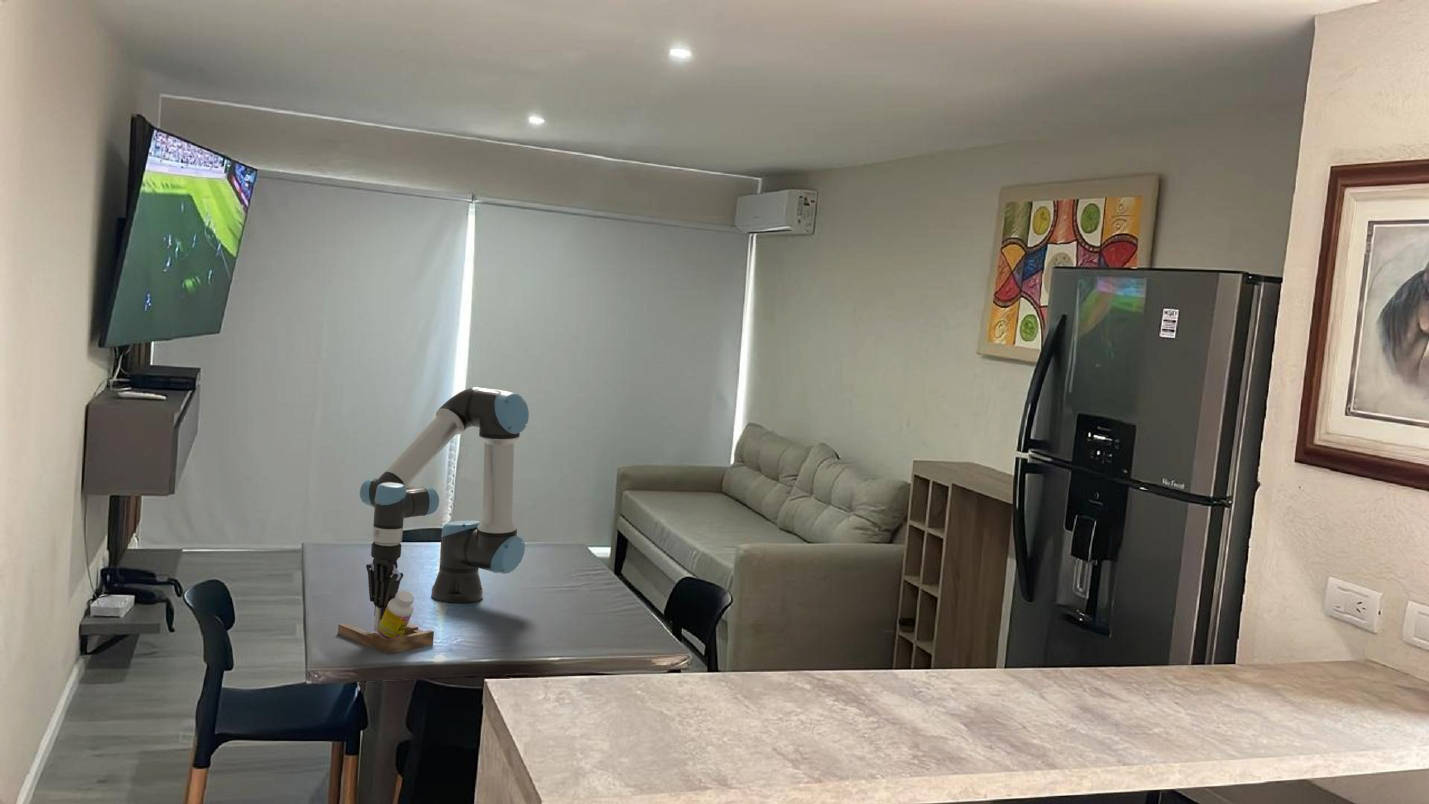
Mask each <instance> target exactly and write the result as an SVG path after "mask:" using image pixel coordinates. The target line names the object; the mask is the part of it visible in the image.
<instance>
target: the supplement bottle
mask: <svg viewBox="0 0 1429 804" xmlns="http://www.w3.org/2000/svg"><path fill="white" fill-rule="evenodd" d="M414 599H415V597H414V595H413V594H412V593H411V592H409V591H407V590H398V592H397V593H396V596H395V598H393V599H391V600H390V601H389V603H388V605H387V607H386V610H385V612H384V615H383V617H382V620H381V622H380V624H379V627H378V629H377V632H376V633H377V634H380V637H381V638H384V639H390V638H395V637H400V636H403V634H404V631H405V629H406V627H407V625H408V624H409V623H410V619H411V617H412V614H413V612H414V606H413V602H414Z"/></svg>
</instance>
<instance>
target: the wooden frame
mask: <svg viewBox="0 0 1429 804" xmlns="http://www.w3.org/2000/svg"><path fill="white" fill-rule="evenodd" d="M337 626H338V627H337V634H338V635H340V636H343V637H346V638H348V639H349V640H353V641H355V642H357V643H360V644H362V645H365V646H367V647H369V648H372V649H374V650H376V651H378V652H381V653H384V654H386V655H391V654H392V655H393V654H396V653H401V652H405V651H410V650H414V649H419V648H424V647H427V646H431V645H434V634H435V631H434V630H431V629H430V630H428V629H427V630H421V629H419V626H418V625H415V624H412V625H408V624H407V627H406V629H405V631H404V634H403V636H400V637H395V638H390V639H384V638H381V637H380V634H378V633H377V632H373V633H370V632H368V631H366V630H363V629H362V628H359V627H355V626H353V625H351V624H348V623H346V622H343V623H338V625H337Z"/></svg>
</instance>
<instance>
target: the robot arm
mask: <svg viewBox="0 0 1429 804" xmlns="http://www.w3.org/2000/svg"><path fill="white" fill-rule="evenodd" d="M529 414H530V413H529V408H528V403H527V402H526V400H525V399H524V398H523V396H521V395H520V394H519V393H516V392H512V391H509V390H503V389H495V388H487V387H486V388H485V387H480V386H474V387H469V388H466V389H464V390H462V391H460V392H458V393H456V394H455V395H453V396H452V397H451V398H449V399H447V401H446V402H444V403H443V404H442V406H440V407H439V408H438V409H437V411H436V412H435V417H434V419H433V420H432V421H431V422H430V423H429V424H428V425H427V426H426V427H425V428H424V429H423V431H422V432H420V433H419V435H418V436H417V437H416V438H414V440H413V441H412V442H411V443H410V444H409V446H407V448H406V449H404V451H403V452H401V454H400V455H399V456H398V457H397V458H396V459H395V460H394V462H392V463H391V465H389V467H387V469H386V470H385V471H384V472H383V473H382V474H381V475H380V476H379V477H378V478H377V477H376V478H368V479H365V481H364V482H363V483H362V484H361V486H360V489H359V497H360V498H359V499H360V500H361V502H362V503H363V504H364V505H367V506H369V507H372V508H374V512H373V524H372V525H373V527H372V528H373V530H372V539H371V540H372V541H373V542H372V543H371V550H370V556H371V557H372V558H373V560H372V562H371V563H367V564H366V566H365V568H366V571H367V577H368V578H367V579H368V594H369V596H368V597H369V601H370V603H371V602H372V603H373V605H374V613H373V615H374V621H373V622H374V623H373V631H374V632H375V633H377V629H378V627H379V624H380V622H381V620H382V617H383V615H384V612H385V610H386V607H387V605H388V603H389V601H390V600H391V599H393V598H395V596H396V593H397V592H398V591H399V588H400V583H401V581H402V579H403V577H404V574H403V573H404V572H399V570H398V560H399V559H400V558H401V554H402V544H401V543H402V541H403V536H404V535H403V533H404V531H403V530H404V521H405V520H404V519H407V518H415V517H416V518H417V517H422V516H423V517H425V516H427V515H431V514H433V513H435V512H436V511H437V510H438V507H439V506H440V496H439V494H438V492H437V490H436V489H434V488H433V487H431V486H421V487H415V486H410V485H411V484H412V483H413V482H414V481H415V480H416V478H418V476H419V475H420V474H421V473H422V472H423V471H424V470H425V469H426V468H427V467H428V466H429V464H431V462H433V460H434V459H435V458H436V457H437V456H438V455H439V454H440V452H441V451H443V449H444V448H445V447H446V446H447V445H448V444H449V443H450V442H451V440H452V439H453V438H454V437H455V436H456V435H461V434H463V432H465V431H466V429H468V428H472V427H476V428H479V429H478V431H479V433H478V437H479V438H480V439H481V440H482V441H483V489H482V490H483V491H482V521H479V520H456V521H450V522H446V523H445V524H444V525H443V526H442V529H441V536H440V552H439V553H440V554H439V566H438V567H439V569H438V571H437V572H438V573H437V575H436V578H435V581H434V584H433V585H432V587H431V593H430V595H431V598H433V599H435V600H437V601H440V602H445V603H451V604H455V603H456V604H464V603H465V604H467V603H475V602H478V601H480V600H482V599H483V587H482V583H481V579H480V573H479V569H482V570H484V571H489V572H492V573H494V574H495V573H496V574H503V575H504V574H510V573H513V571H515V570H516V569H517V568H518V567H519V565H520V563H521V562H522V560H523V558H524V555H525V550H526V544H525V540H523V538H522V537H520V536H519V535H518V526H517V525H516V524H515V523H514V522H513V505H514V504H513V500H514V498H513V497H514V496H513V495H514V466H515V465H514V462H515V460H514V459H515V456H514V455H515V442H516V441H517V440H519V438H520V436H521V435H520V433H522V432H524V430H525V429H526V427H527V424H528V422H529V416H530V415H529Z"/></svg>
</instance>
